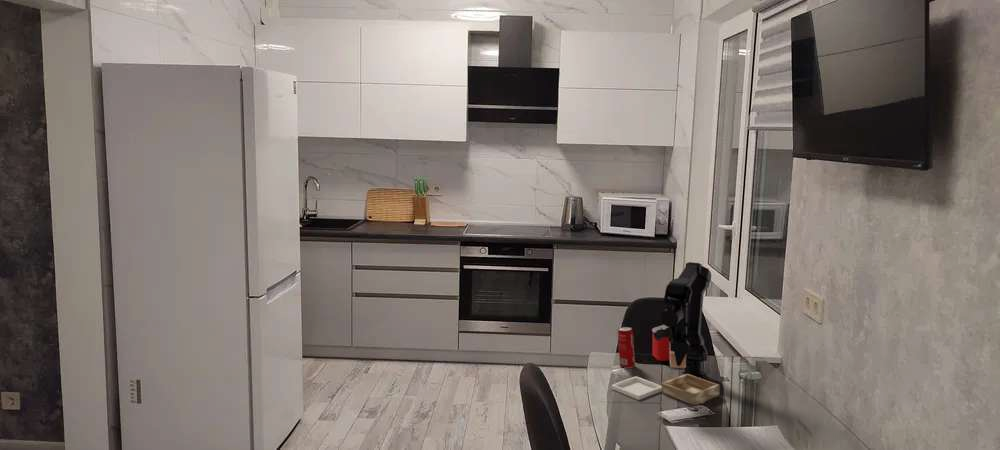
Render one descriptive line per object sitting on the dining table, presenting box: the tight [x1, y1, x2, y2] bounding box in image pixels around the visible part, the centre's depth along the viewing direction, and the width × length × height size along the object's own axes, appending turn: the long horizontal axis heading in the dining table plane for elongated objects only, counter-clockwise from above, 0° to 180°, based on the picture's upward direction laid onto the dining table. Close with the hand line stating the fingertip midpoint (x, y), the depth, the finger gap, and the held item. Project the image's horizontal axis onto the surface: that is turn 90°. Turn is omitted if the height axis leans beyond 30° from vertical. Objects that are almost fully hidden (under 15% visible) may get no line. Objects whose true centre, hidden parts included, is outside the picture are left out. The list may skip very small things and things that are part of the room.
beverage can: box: [617, 326, 636, 369], centre depth 262 cm, size 6×6×15 cm
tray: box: [610, 375, 661, 401], centre depth 239 cm, size 13×13×2 cm
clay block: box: [669, 351, 686, 369], centre depth 234 cm, size 5×5×5 cm
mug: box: [651, 330, 670, 362], centre depth 271 cm, size 12×8×11 cm
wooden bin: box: [660, 374, 721, 406], centre depth 234 cm, size 14×14×4 cm
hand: (677, 362), depth 234 cm, fingers closed on clay block, 5 cm apart
